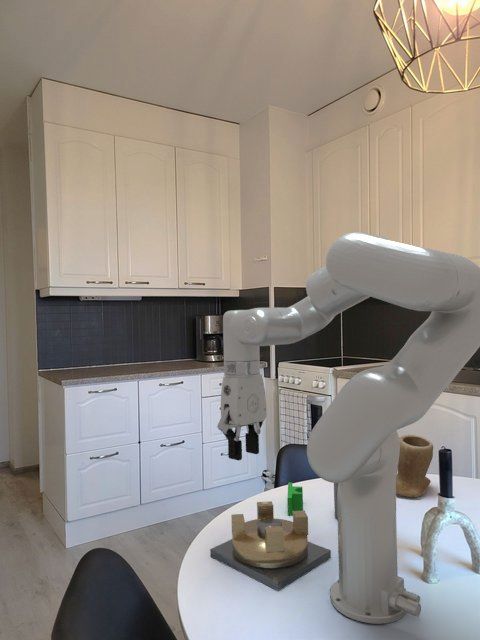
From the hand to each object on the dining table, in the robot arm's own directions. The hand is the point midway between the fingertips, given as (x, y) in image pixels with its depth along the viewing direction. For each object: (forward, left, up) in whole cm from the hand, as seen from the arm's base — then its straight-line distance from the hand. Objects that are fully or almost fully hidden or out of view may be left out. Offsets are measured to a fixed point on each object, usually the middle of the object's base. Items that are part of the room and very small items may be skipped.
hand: (243, 455), depth 99 cm
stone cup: (-10, -54, -20) cm, 59 cm away
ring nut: (-6, 0, -18) cm, 19 cm away
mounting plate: (-6, 0, -19) cm, 20 cm away
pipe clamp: (+6, -24, -20) cm, 32 cm away
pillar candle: (-8, -28, -20) cm, 36 cm away
